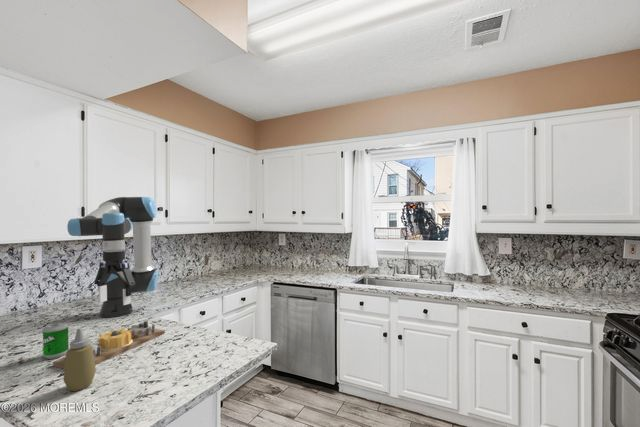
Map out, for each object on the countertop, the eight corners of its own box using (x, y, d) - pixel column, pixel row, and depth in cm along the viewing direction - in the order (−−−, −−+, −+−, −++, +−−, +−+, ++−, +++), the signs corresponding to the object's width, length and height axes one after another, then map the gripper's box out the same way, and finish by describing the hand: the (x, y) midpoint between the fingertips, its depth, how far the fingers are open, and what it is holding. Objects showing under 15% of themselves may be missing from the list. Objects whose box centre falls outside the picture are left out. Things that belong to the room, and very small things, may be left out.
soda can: (66, 349, 124) (65, 319, 125) (70, 354, 120) (70, 323, 120) (41, 356, 119) (40, 325, 119) (45, 361, 114) (44, 329, 114)
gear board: (141, 330, 144) (141, 315, 144) (164, 333, 140) (164, 318, 140) (53, 366, 110) (52, 346, 110) (79, 372, 106) (79, 352, 106)
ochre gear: (118, 337, 132) (118, 327, 132) (137, 340, 128) (137, 330, 128) (92, 347, 122) (92, 337, 122) (111, 351, 118) (111, 340, 118)
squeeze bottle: (102, 379, 101) (101, 324, 101) (83, 393, 93) (82, 333, 93) (76, 380, 101) (75, 324, 101) (56, 394, 92) (55, 334, 93)
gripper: (83, 251, 126) (84, 302, 126) (127, 252, 117) (128, 308, 117) (101, 248, 133) (102, 298, 133) (144, 250, 124) (145, 302, 124)
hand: (114, 302), depth 125 cm, fingers open, 13 cm apart
